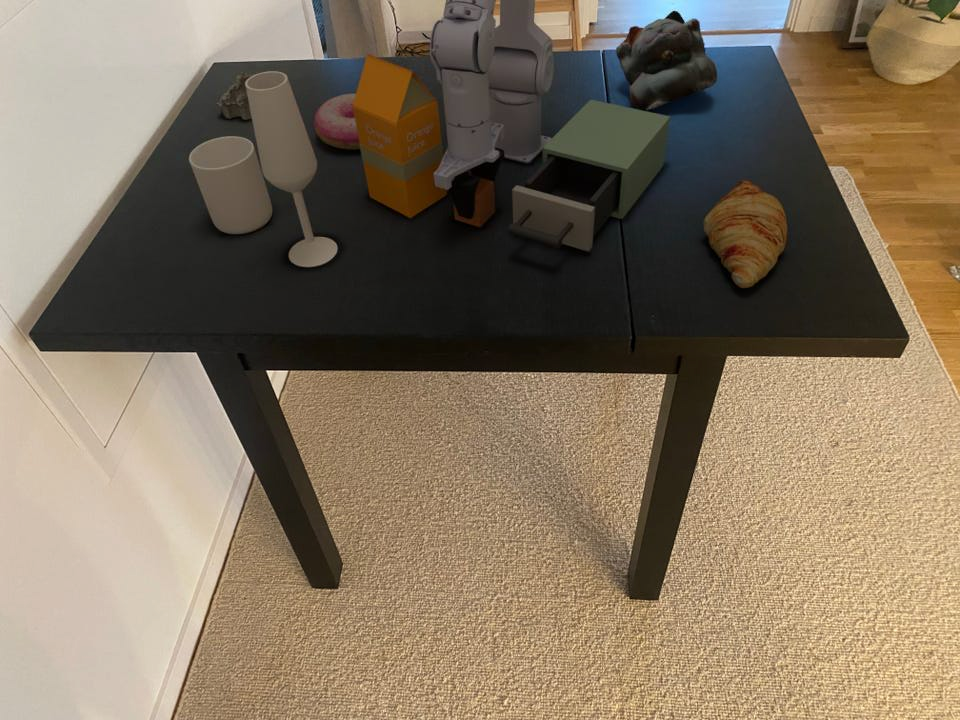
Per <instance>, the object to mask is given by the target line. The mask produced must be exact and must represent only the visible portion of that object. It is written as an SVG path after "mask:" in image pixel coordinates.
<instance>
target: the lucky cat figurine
mask: <svg viewBox="0 0 960 720" xmlns="http://www.w3.org/2000/svg"><path fill="white" fill-rule="evenodd" d="M700 24H701V23H700V21H699V19H697V18H691V19H689V20H687V21H685V20H684V18H683V17H682V15H681V13H680V12H679V11H678V10H672V11H671V12H670V13H669V14H667V15H666V16H665V17H664V18H658V19H655V20H654V21H653V22H650V23H648V24H646V25H645V26H644V27H639V26H638V25H634V26H630V27H629V29H628V34H627V35H626V38H625V39H624V40H623V41H622V42H621V43H620V44H619V45H618V46H617V47H616V48H615V52H616V57H617V59H618V61H619V65H620V69H621V70H622V72H623V75H624V78H625V80H626V82H627V86H628V89H629V92H630V97H629V98H630V102H631V104H632V106H633V107H635V109H637V110H642V111H647V112H648V111H651V110H654V109H657V108H660V107H662V106H664V105H666V104H667V105H668V104H670V103H672V102H674V101H678V100H680V99H683V98H686V97H692V96H694V95H695V94H698V93H700V92H701V91H704V90H707V89H709V88H711V87H713V86H714V85H715V84H716V83H717V82H718V70H717V67H716V64H715V62H714V61H713V60H712V59H711V58H709V57H708V56H707V54H706V47H705V42H704V38H703V35H702V32H701V25H700Z"/></svg>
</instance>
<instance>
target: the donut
mask: <svg viewBox="0 0 960 720" xmlns="http://www.w3.org/2000/svg"><path fill="white" fill-rule="evenodd" d="M355 96H356V92H355V93H346V94H345V93H344V94H340V95H337V96H334V97H333V98H332V97H331V98H330V99H328V100H327V101H325V102H324V103H323V104H322V105H321V106H319V108H318V109H317V110H316V113H315V115H314V119H313V126H314V130H315V134H316V135H317V136H318V137H319V139H320V140H321V141H322V142H323V143H325V144H326V145H329V146H331V147H333V148H337V149H341V150H348V151H349V150H350V151H353V150H354V151H355V150H356V151H358V150H360V142H359V137H358V132H357V127H356V121H355V116H354V111H353V107H352V104H353V103H354V99H355Z"/></svg>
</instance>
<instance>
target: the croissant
mask: <svg viewBox="0 0 960 720" xmlns="http://www.w3.org/2000/svg"><path fill="white" fill-rule="evenodd" d="M702 223H703V224H702V225H703V232H704V233H705V235H706V236H707V238H708V243H709V246H710V248H711V249H712V250H713V251H714V252H715V253H716V254H717V256H718V258H720V260H721V261H720V263H721V264H722V266H723V267H724V268H725V269H727V270H728V272H729V273H730V275H731V279H732V281H733V282H734V284H735V285H736V286H738V287H739V288H741V289H747V288H751V287H753V286H754V285H755V284H757V283H758V282H759V281H760V280H762V279H763V278H765V277H766V276H767V275H768V274H769V272H770V271H771V270H772V269H773V268H774V267H775V266H776V264H777V262H778V258H779V256H780V255H781V254H783V252H784V250H785V248H786V243H787V235H788V223H787V217H786V213H785V210H784V207H783V205H782V203H781V202H780V201H779V199H777V198H776V197H775V196H774V195H772V194H769V193H768V192H766V191H764V190H762V189H761V188H760V187H759V186H757V185H756V184H754V183H753V182H752V180H747V179H746V180H745V179H742V180H740V181H738V182H737V183H736V186H735V187H734V188H732V190H730V191H729V192H728V193H726V195H724V196H723V197H722V198H721V199H720V200H719V201H718V202H717V203H715V205H714V207H713V208H712V209H711V210H710V211H709V212H708V213H707V214H706V216H704V219H703V221H702Z"/></svg>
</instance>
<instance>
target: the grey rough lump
mask: <svg viewBox="0 0 960 720" xmlns="http://www.w3.org/2000/svg"><path fill="white" fill-rule="evenodd" d="M252 76H253V75H252V74H247V73H245V71H244V70H243V71H241V72H240V73H238V74H237V76H235V78H234V79H233V84H232V85H230V86H229V87H228V89H227V91H226V92H225V93H223V94H222V96H221V97H220V100H218V102H216V103H215V105H217V106H219V107H220V108H221V109H222V114H223V116H224V118H225V119H230V120H231V119H233V118H238V117H241V119H242V120H245V121H247V120H252V116H251V111H250V106H249V101H248V96H247V91H246V86H245V82H246V81H247V79H249V78H250V77H252Z"/></svg>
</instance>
